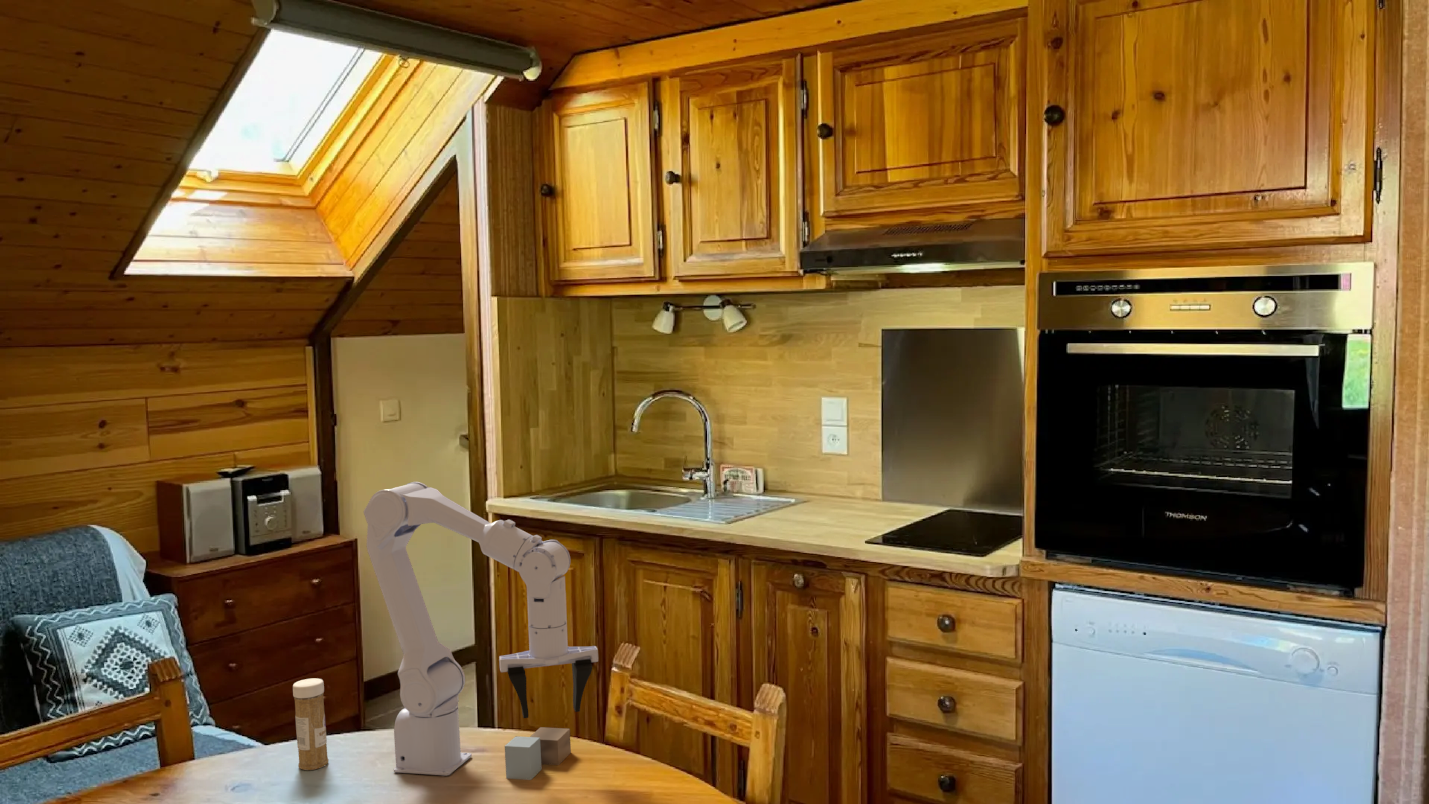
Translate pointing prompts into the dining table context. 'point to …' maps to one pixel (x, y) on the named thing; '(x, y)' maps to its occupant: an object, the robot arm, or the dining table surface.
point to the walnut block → (553, 744)
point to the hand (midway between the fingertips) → (551, 712)
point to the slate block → (523, 757)
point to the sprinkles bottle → (310, 723)
